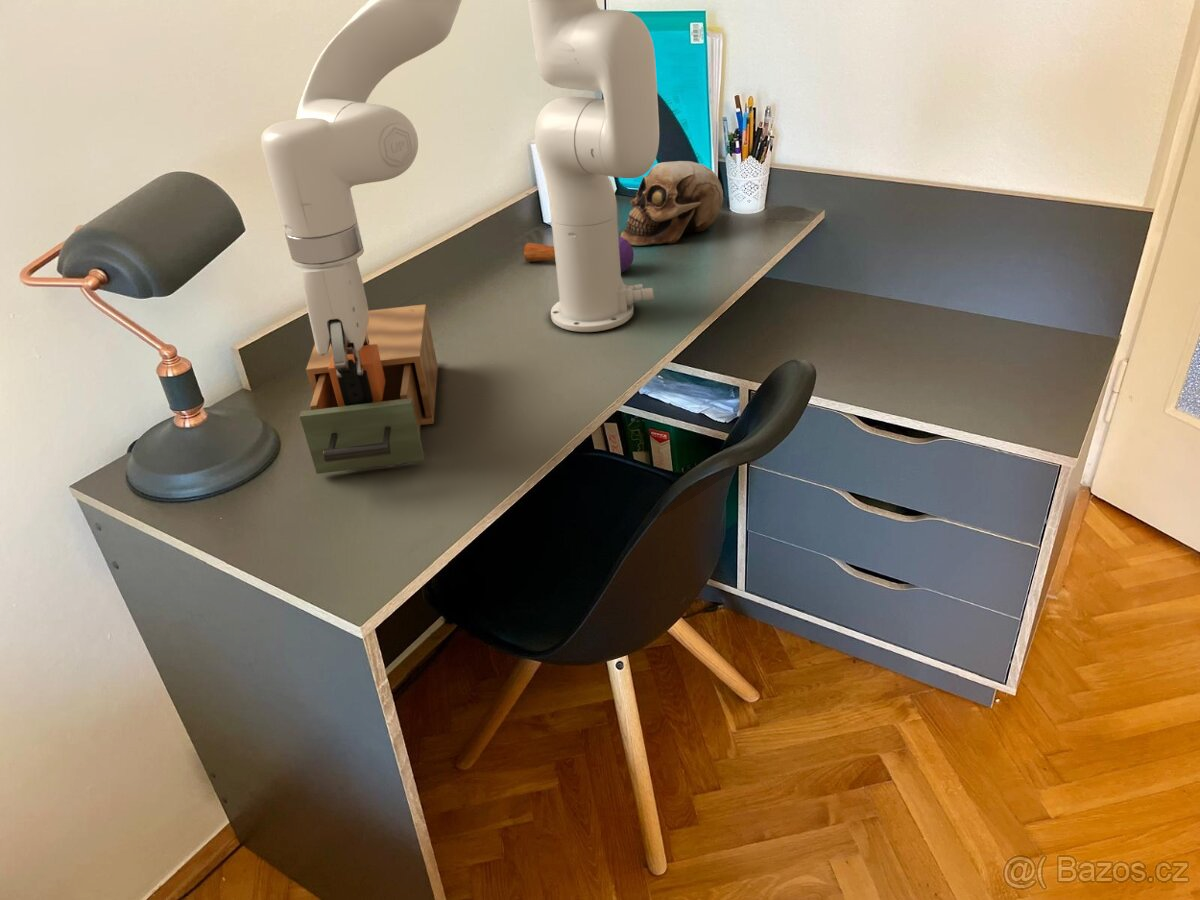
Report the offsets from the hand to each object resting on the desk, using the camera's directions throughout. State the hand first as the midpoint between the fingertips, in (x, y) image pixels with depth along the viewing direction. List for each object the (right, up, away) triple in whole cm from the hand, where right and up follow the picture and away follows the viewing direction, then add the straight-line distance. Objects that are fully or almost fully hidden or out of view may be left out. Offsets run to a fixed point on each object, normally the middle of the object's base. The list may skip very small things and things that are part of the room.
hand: (361, 390), depth 105 cm
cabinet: (-1, 0, +14) cm, 15 cm away
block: (0, 0, 0) cm, 0 cm away
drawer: (+1, -6, +3) cm, 7 cm away
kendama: (+24, +24, +49) cm, 60 cm away
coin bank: (+41, +33, +60) cm, 80 cm away
